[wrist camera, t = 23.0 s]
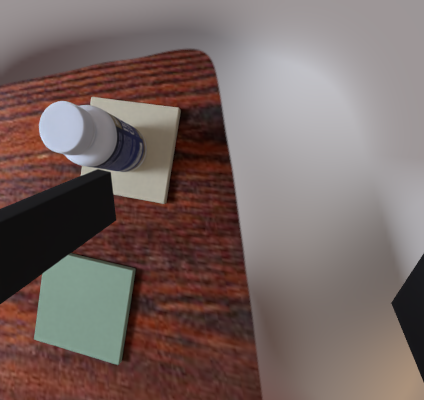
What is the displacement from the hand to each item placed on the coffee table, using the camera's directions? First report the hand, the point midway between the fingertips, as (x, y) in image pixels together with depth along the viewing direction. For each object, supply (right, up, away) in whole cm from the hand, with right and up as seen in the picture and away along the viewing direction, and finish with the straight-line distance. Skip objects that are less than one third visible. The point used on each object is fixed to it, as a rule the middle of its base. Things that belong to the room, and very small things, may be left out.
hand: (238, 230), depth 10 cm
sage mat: (-17, -12, +20) cm, 29 cm away
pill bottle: (-11, +7, +18) cm, 22 cm away
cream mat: (-11, +7, +18) cm, 22 cm away
